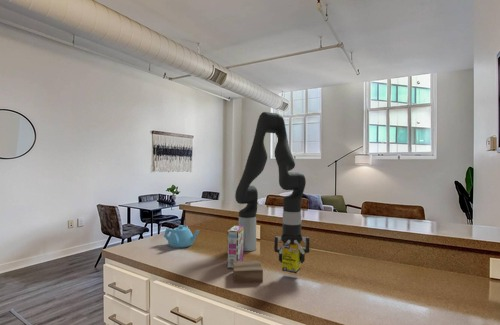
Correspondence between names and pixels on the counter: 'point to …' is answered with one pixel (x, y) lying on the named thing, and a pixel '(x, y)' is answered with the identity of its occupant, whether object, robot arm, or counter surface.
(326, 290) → the counter surface
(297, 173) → the robot arm
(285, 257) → the supplement box
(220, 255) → the counter surface
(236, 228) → the candy bar box
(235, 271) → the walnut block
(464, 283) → the counter surface
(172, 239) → the teapot
